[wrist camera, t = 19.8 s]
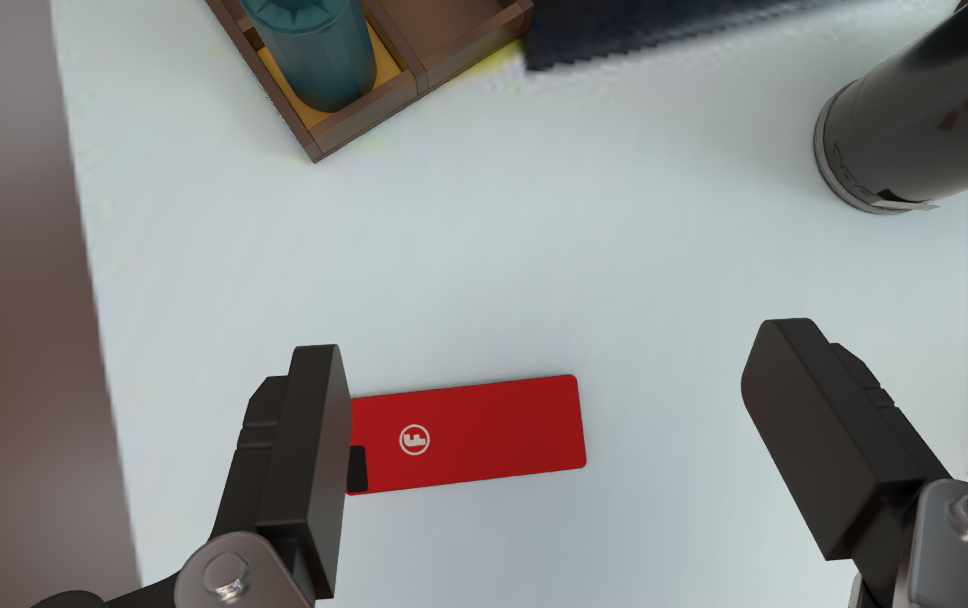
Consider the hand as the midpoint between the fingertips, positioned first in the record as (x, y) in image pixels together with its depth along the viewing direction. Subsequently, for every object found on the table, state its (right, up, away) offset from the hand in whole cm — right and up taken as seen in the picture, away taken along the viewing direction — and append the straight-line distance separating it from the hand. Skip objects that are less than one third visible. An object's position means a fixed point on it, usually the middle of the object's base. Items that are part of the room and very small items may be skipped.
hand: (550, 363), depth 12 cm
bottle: (-11, +16, +28) cm, 34 cm away
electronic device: (-3, -7, +27) cm, 28 cm away
